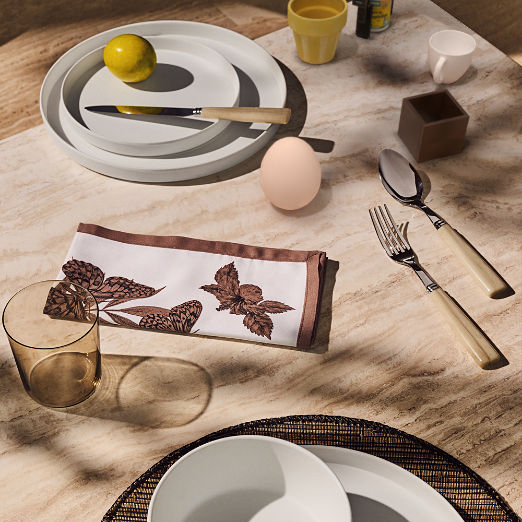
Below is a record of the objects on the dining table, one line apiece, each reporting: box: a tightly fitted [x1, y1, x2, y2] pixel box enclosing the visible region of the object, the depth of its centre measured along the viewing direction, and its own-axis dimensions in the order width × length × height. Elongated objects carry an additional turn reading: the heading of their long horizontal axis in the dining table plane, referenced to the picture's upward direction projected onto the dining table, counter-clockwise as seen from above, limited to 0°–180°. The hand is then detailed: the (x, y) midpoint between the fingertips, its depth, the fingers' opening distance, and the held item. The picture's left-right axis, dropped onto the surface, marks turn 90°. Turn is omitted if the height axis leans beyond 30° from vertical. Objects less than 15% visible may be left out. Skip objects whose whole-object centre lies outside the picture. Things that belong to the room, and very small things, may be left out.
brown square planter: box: [397, 88, 471, 164], centre depth 105 cm, size 7×7×7 cm
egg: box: [259, 136, 322, 211], centre depth 96 cm, size 9×9×11 cm
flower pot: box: [287, 0, 349, 65], centre depth 121 cm, size 10×10×10 cm
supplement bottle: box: [371, 0, 392, 33], centre depth 127 cm, size 5×5×10 cm
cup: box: [426, 29, 477, 85], centre depth 116 cm, size 8×10×7 cm
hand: (374, 23), depth 131 cm, fingers open, 9 cm apart
